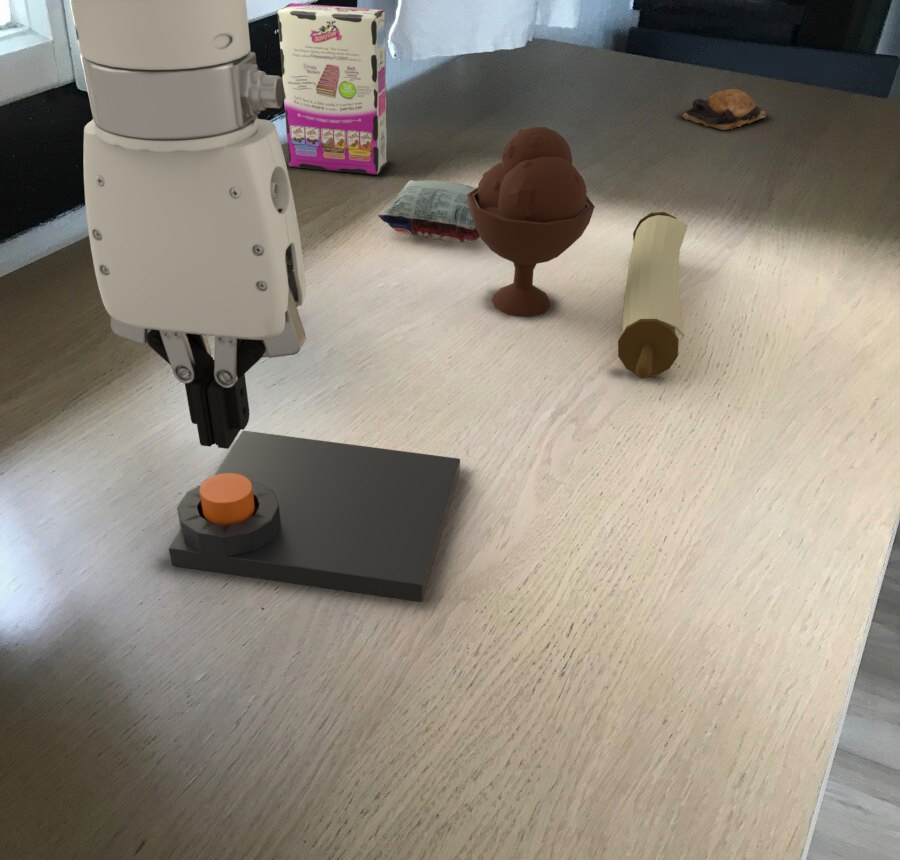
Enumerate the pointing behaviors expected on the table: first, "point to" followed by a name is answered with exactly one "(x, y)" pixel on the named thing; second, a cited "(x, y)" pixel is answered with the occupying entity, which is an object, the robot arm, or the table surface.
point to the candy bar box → (334, 87)
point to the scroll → (652, 297)
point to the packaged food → (433, 211)
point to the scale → (326, 516)
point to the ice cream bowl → (530, 212)
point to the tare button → (227, 498)
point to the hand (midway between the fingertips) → (223, 434)
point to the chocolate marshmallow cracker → (725, 110)
